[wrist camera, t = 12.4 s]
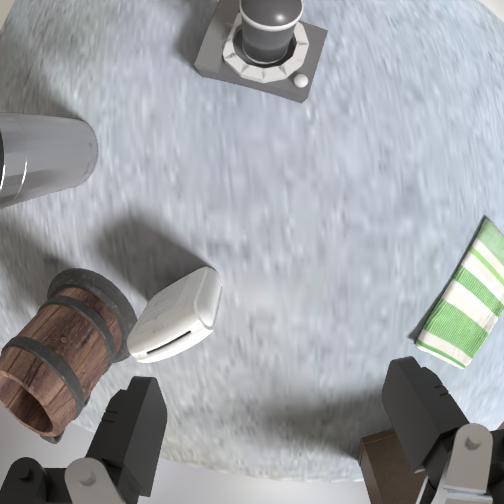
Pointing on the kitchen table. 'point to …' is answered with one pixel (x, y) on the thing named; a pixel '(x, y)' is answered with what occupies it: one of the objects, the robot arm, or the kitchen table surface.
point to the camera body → (252, 74)
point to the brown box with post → (388, 470)
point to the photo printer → (177, 317)
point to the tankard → (65, 351)
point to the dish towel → (468, 302)
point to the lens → (268, 28)
